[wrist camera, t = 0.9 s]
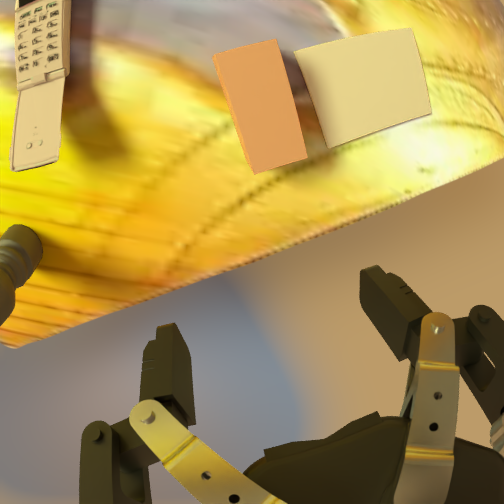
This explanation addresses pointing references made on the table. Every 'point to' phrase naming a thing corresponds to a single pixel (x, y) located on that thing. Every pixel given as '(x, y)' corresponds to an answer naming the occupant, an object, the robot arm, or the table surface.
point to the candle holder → (16, 264)
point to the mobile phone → (39, 80)
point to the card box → (261, 105)
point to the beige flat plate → (364, 83)
